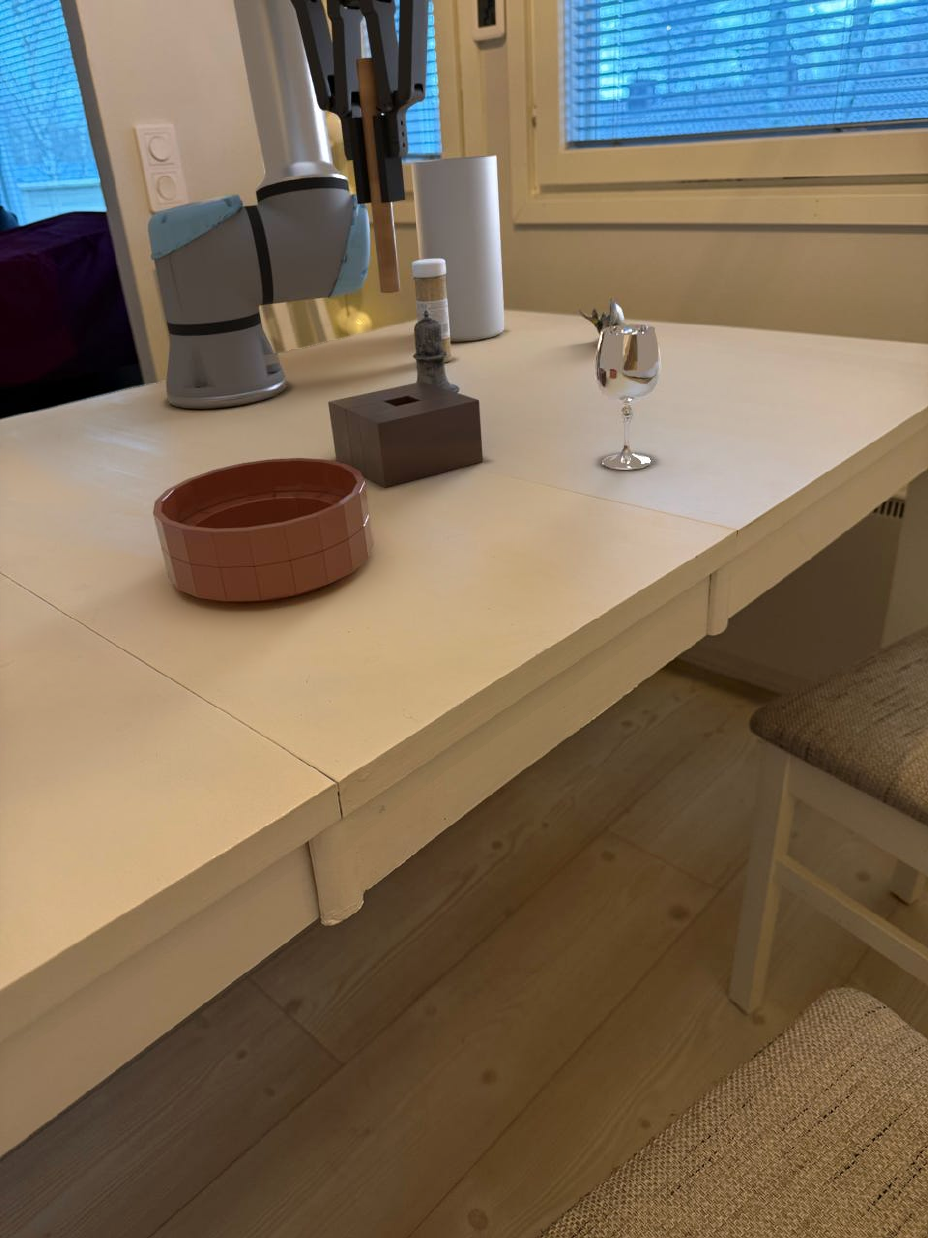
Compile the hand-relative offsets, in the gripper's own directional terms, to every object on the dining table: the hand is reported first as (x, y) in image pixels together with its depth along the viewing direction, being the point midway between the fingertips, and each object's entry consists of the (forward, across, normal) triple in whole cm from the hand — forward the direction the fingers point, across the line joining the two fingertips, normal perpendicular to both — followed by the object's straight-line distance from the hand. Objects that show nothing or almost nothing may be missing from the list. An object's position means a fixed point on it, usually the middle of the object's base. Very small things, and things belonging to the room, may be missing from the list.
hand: (381, 201), depth 79 cm
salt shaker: (+24, -4, +13) cm, 27 cm away
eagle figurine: (+23, +1, +55) cm, 60 cm away
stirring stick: (+7, 0, 0) cm, 7 cm away
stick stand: (+23, 0, 0) cm, 23 cm away
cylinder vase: (+23, -24, +58) cm, 67 cm away
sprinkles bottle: (+23, -20, +40) cm, 51 cm away
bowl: (+23, +3, -25) cm, 34 cm away
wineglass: (+24, +20, +6) cm, 32 cm away
